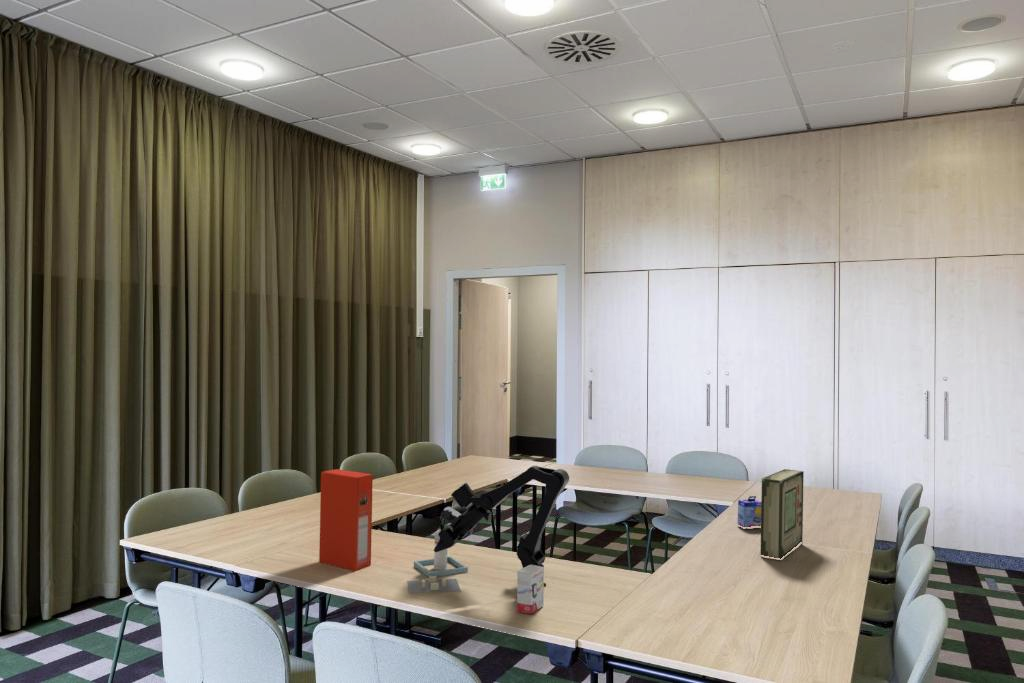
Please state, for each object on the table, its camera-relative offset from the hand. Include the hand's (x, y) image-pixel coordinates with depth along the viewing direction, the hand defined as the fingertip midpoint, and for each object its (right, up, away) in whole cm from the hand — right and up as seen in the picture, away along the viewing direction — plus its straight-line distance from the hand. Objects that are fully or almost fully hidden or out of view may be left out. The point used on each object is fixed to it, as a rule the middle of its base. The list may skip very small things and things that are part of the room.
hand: (440, 547), depth 238 cm
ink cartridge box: (+131, -13, +71) cm, 149 cm away
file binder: (-34, -8, +5) cm, 36 cm away
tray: (0, -8, 0) cm, 8 cm away
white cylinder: (0, -7, 0) cm, 7 cm away
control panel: (+131, -12, +36) cm, 137 cm away
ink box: (+30, -9, -33) cm, 45 cm away
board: (0, -8, -18) cm, 19 cm away
